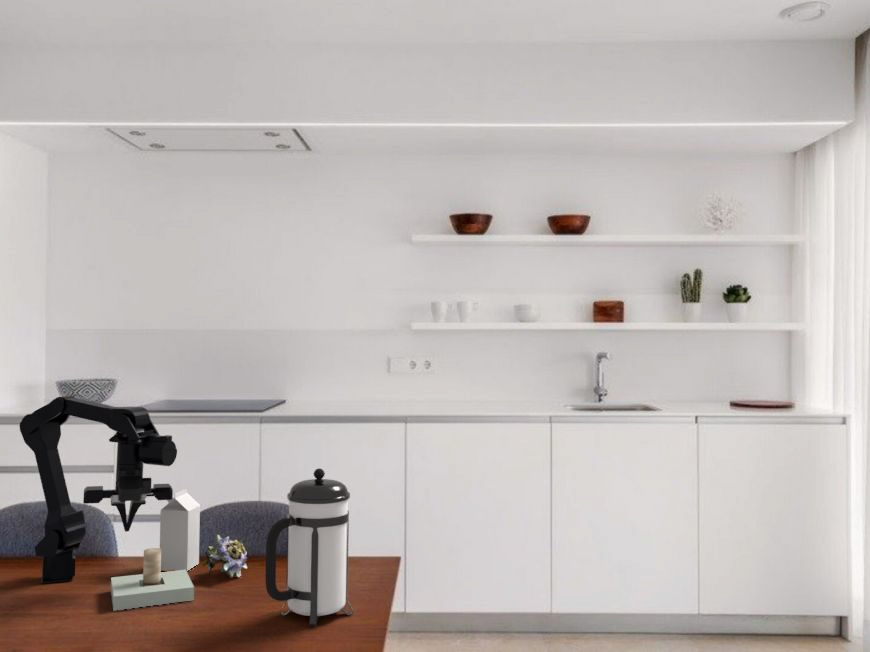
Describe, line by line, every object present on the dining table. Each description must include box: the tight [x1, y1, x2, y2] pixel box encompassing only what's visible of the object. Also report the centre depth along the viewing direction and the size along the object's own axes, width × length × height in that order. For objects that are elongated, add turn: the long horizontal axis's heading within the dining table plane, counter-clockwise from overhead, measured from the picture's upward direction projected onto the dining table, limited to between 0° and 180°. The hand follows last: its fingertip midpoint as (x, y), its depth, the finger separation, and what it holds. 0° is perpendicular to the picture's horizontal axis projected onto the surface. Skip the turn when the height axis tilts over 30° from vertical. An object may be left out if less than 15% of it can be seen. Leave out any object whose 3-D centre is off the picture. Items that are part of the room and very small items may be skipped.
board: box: [110, 570, 195, 612], centre depth 168 cm, size 16×14×3 cm
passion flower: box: [202, 534, 248, 579], centre depth 184 cm, size 11×11×12 cm
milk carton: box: [159, 488, 201, 571], centre depth 189 cm, size 7×7×19 cm
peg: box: [142, 547, 161, 587], centre depth 168 cm, size 4×4×10 cm
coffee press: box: [265, 468, 354, 628], centre depth 157 cm, size 17×16×30 cm
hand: (126, 531), depth 175 cm, fingers closed
